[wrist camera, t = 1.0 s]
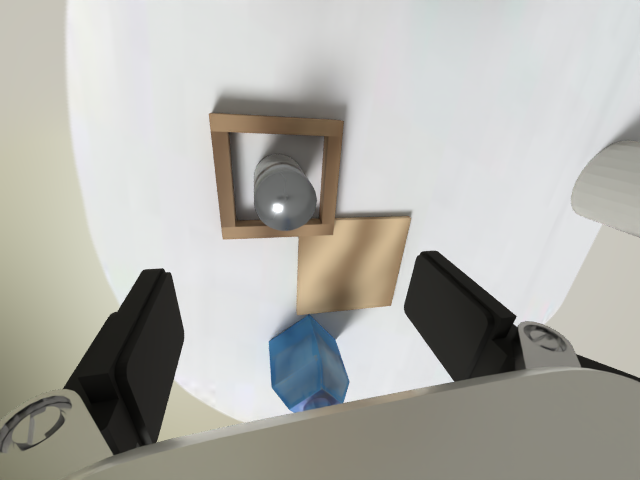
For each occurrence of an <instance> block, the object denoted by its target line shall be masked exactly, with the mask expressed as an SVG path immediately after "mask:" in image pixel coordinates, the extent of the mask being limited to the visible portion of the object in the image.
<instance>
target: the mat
mask: <svg viewBox="0 0 640 480" xmlns="http://www.w3.org/2000/svg"><path fill="white" fill-rule="evenodd" d="M309 221H320V220H319V218H314V219H310V220H309ZM410 221H411V218H410V217H409V216H393V217H354V218H335V220H334V231H333V235H323V236H299V244H298V276H297V309H296V312H297V315H305V314H315V313H324V312H334V311H344V310H354V309H363V308H373V307H383V306H391V303H392V299H393V295H394V290H395V286H396V282H397V277H398V273H399V269H400V264H401V260H402V256H403V251H404V247H405V243H406V239H407V234H408V230H409V226H410Z"/></svg>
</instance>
